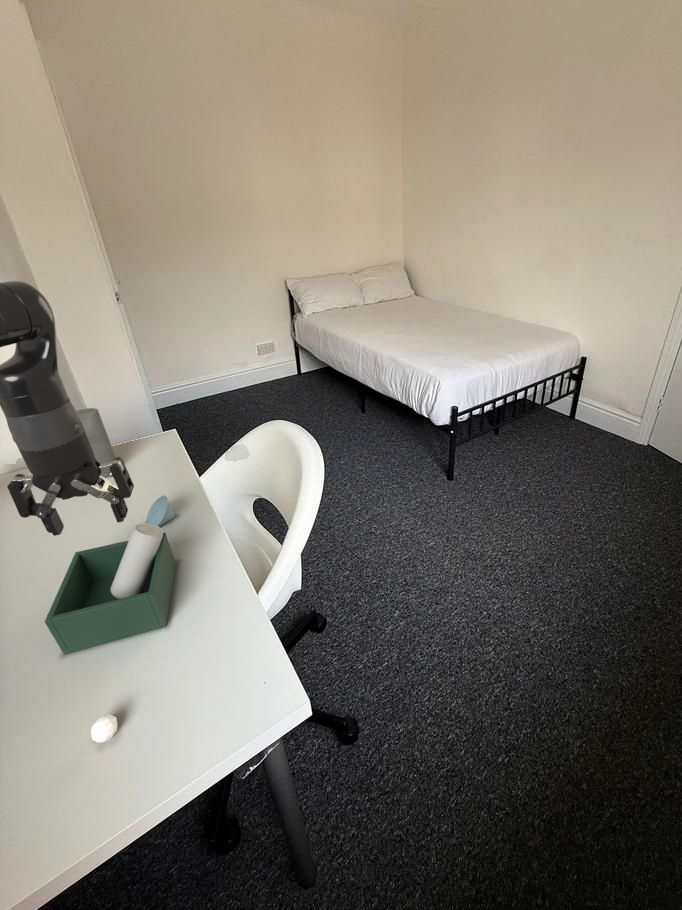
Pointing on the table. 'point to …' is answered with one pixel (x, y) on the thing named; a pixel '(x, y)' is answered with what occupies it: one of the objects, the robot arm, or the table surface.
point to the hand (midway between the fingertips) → (91, 525)
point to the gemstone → (160, 512)
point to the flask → (97, 436)
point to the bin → (108, 599)
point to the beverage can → (136, 560)
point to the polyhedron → (104, 728)
